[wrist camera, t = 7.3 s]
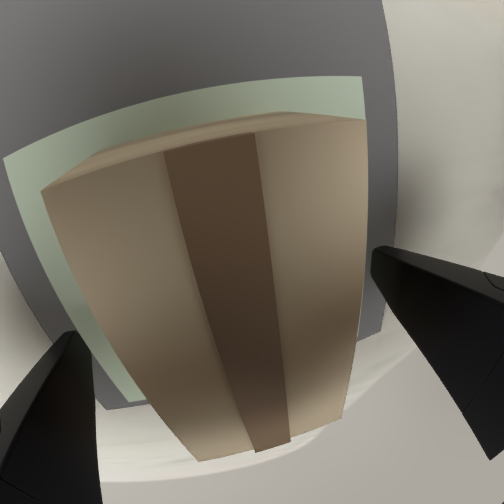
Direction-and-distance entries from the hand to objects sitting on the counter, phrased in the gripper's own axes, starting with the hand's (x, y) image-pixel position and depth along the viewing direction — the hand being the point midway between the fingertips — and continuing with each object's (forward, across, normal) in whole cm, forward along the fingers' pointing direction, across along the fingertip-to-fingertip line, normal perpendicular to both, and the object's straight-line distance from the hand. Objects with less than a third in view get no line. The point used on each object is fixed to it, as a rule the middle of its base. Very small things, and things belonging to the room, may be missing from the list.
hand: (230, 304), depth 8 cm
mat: (+2, 0, -8) cm, 8 cm away
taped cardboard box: (+2, 0, 0) cm, 2 cm away
